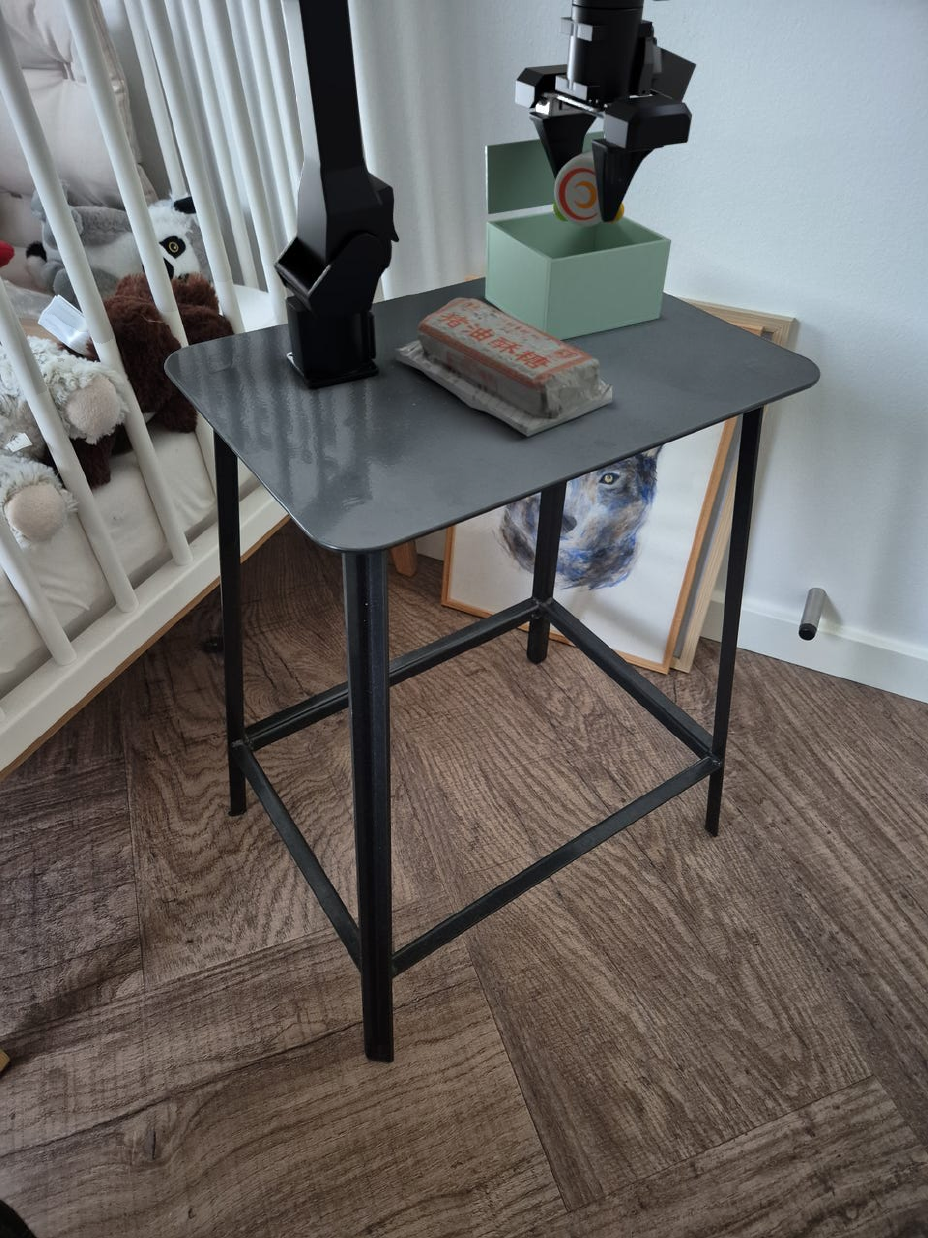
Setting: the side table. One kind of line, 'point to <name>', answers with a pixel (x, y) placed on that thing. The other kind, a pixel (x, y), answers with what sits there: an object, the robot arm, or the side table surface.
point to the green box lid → (521, 175)
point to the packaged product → (506, 366)
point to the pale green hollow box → (575, 273)
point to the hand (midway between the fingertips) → (587, 210)
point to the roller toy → (579, 193)
